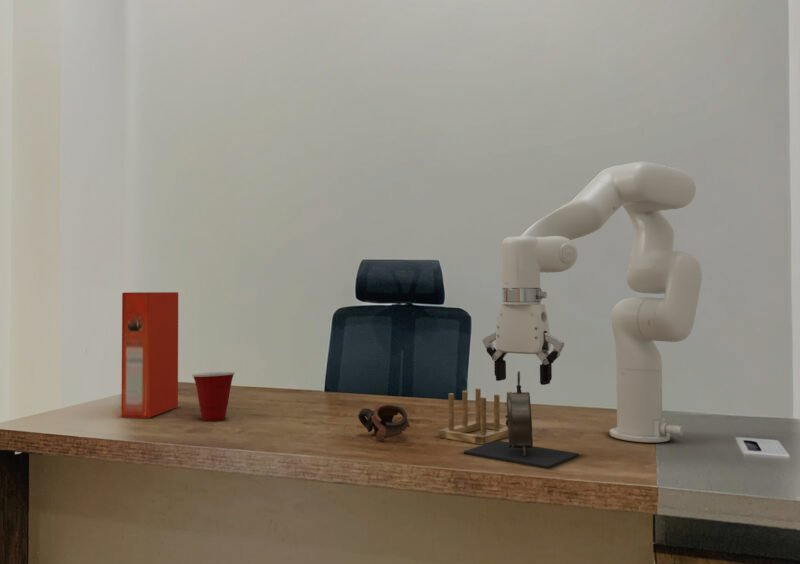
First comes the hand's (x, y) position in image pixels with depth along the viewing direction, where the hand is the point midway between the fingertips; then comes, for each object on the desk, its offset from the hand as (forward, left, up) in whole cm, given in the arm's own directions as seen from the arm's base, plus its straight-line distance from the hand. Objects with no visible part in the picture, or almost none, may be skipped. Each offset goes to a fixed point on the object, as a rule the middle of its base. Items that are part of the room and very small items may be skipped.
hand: (522, 382), depth 144 cm
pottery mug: (+31, +5, -15) cm, 35 cm away
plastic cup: (+76, +17, -15) cm, 79 cm away
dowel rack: (+16, -12, -15) cm, 25 cm away
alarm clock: (+1, +1, -14) cm, 14 cm away
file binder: (+96, +22, -15) cm, 100 cm away
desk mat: (0, 0, -15) cm, 15 cm away
